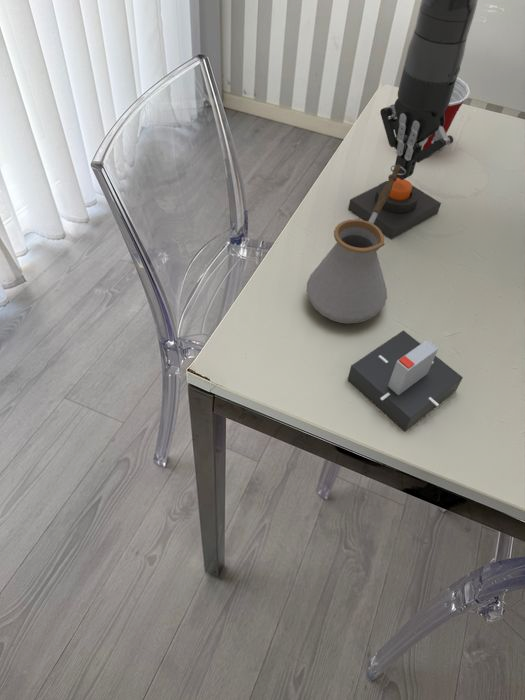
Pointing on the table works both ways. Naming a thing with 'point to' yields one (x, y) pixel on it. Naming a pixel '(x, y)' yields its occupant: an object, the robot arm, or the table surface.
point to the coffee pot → (352, 269)
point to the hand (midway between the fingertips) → (402, 176)
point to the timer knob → (412, 367)
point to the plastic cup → (452, 106)
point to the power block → (395, 210)
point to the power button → (400, 190)
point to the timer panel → (415, 400)
